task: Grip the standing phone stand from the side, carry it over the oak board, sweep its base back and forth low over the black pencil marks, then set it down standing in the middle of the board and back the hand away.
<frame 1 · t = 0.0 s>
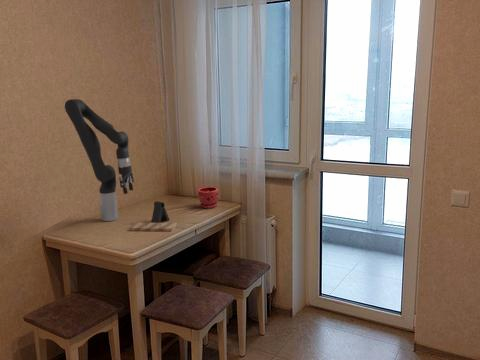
hand: (128, 192, 251), 17 cm above the table, tool pointing down, fingers open, 8 cm apart
oak board: (153, 227, 237), on the table
phone stand: (160, 221, 249), on the table
plant pot: (208, 206, 278), on the table
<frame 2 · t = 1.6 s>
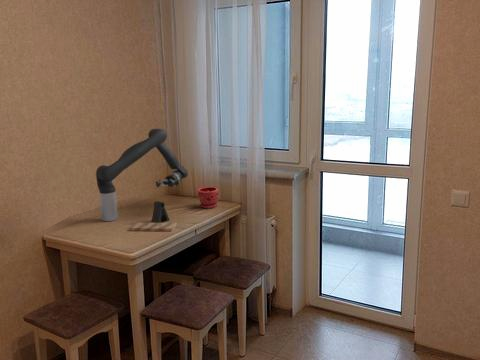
hand: (164, 185, 255), 19 cm above the table, tool horizontal, fingers open, 8 cm apart
nothing on the table moved.
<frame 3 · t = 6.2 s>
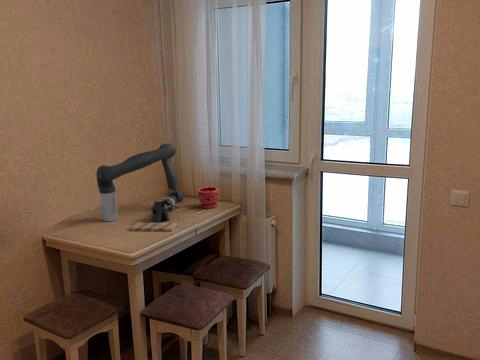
hand: (158, 212, 245), 7 cm above the table, tool horizontal, fingers closed on phone stand, 6 cm apart
phone stand: (160, 221, 249), on the table, touching gripper
everything else where it was.
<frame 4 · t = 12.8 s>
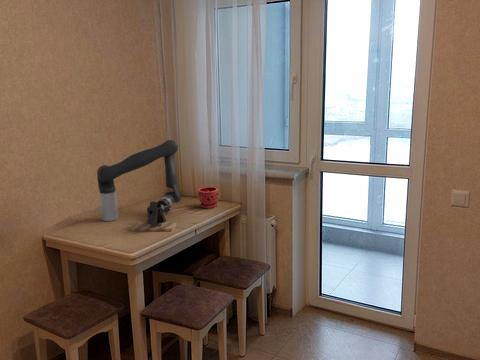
hand: (154, 212, 233), 10 cm above the table, tool horizontal, fingers closed on phone stand, 6 cm apart
phone stand: (156, 223, 237), point 3 cm above the table, touching gripper
everything else where it was.
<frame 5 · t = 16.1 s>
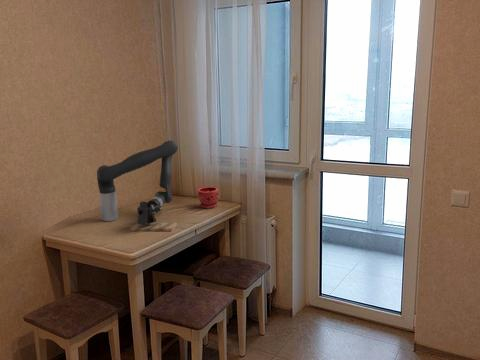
hand: (144, 212, 233), 10 cm above the table, tool horizontal, fingers closed on phone stand, 6 cm apart
phone stand: (146, 222, 237), point 3 cm above the table, touching gripper
everything else where it was.
when the fingers open (8 cm above the table, at t = 19.4 s): phone stand stays where it is, resting on oak board.
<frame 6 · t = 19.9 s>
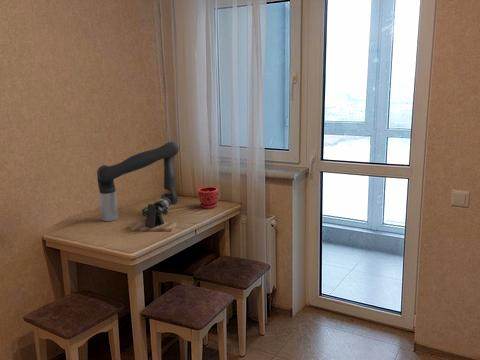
hand: (151, 214, 234), 9 cm above the table, tool horizontal, fingers open, 8 cm apart
phone stand: (154, 225, 237), point 1 cm above the table, touching gripper, oak board
everything else where it was.
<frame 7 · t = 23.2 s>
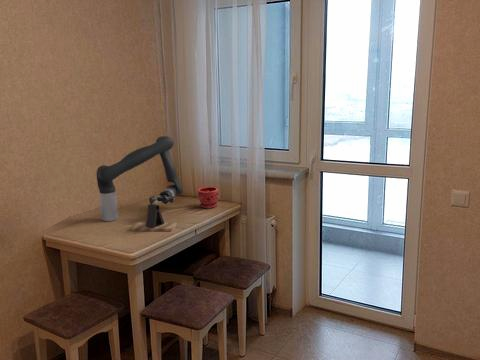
hand: (158, 202, 245), 12 cm above the table, tool horizontal, fingers open, 8 cm apart
phone stand: (155, 225, 237), point 1 cm above the table, touching oak board
everything else where it was.
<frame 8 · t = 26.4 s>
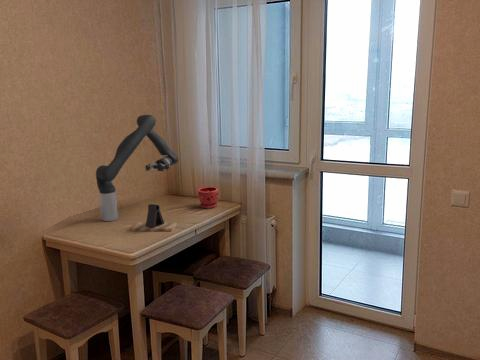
hand: (153, 169, 252), 30 cm above the table, tool horizontal, fingers open, 8 cm apart
nothing on the table moved.
at the end: phone stand inside the target area on the oak board (1.0 cm from its centre), point 1.3 cm above the oak board's base; phone stand tilted 0°; the gripper is holding nothing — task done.
